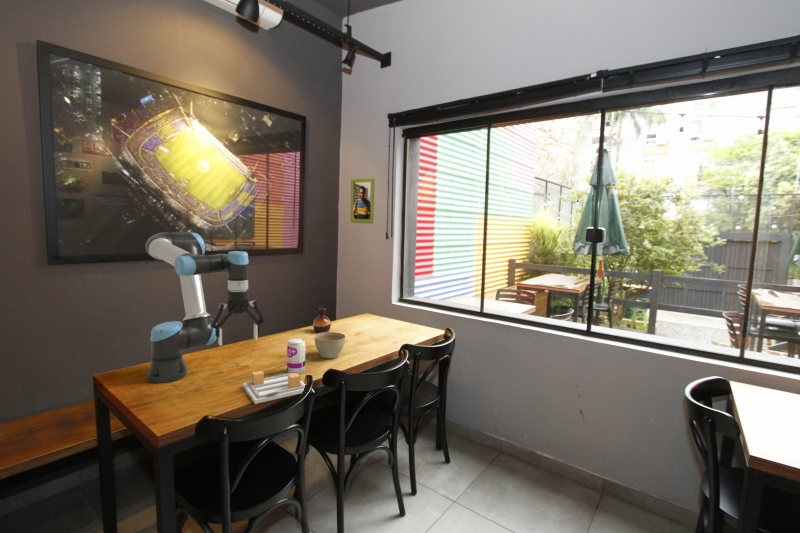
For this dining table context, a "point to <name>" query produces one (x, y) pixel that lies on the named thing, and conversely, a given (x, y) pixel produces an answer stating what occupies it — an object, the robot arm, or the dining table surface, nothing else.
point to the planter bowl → (329, 344)
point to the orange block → (257, 378)
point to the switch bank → (272, 388)
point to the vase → (321, 322)
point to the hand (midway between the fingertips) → (238, 342)
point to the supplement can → (296, 356)
